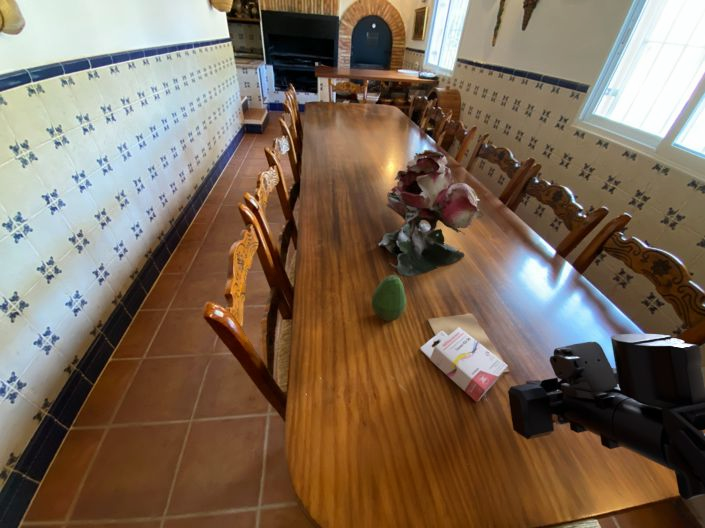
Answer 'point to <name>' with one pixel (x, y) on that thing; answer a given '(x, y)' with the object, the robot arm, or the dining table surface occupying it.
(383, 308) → the avocado
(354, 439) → the dining table surface
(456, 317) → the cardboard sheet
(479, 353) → the ink cartridge box
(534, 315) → the dining table surface
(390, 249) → the rose bouquet
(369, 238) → the dining table surface
